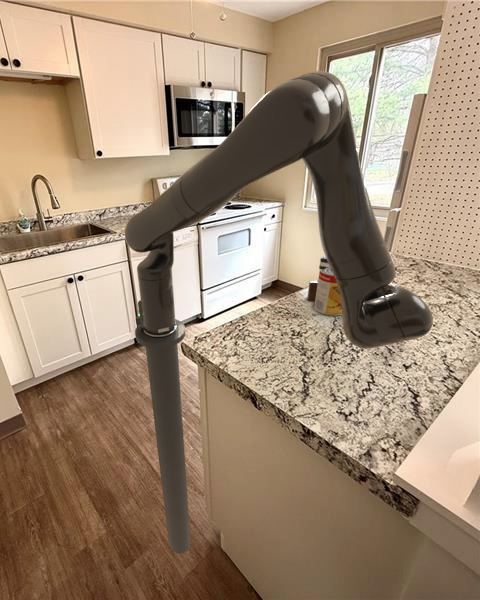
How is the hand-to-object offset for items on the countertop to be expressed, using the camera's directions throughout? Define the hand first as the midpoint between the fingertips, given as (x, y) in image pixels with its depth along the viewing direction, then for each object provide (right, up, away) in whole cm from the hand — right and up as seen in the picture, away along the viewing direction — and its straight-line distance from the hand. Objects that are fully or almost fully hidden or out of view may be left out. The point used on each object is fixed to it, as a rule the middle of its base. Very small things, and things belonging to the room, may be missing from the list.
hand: (345, 251), depth 74 cm
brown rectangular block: (+7, -12, +20) cm, 25 cm away
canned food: (+5, -14, +16) cm, 22 cm away
